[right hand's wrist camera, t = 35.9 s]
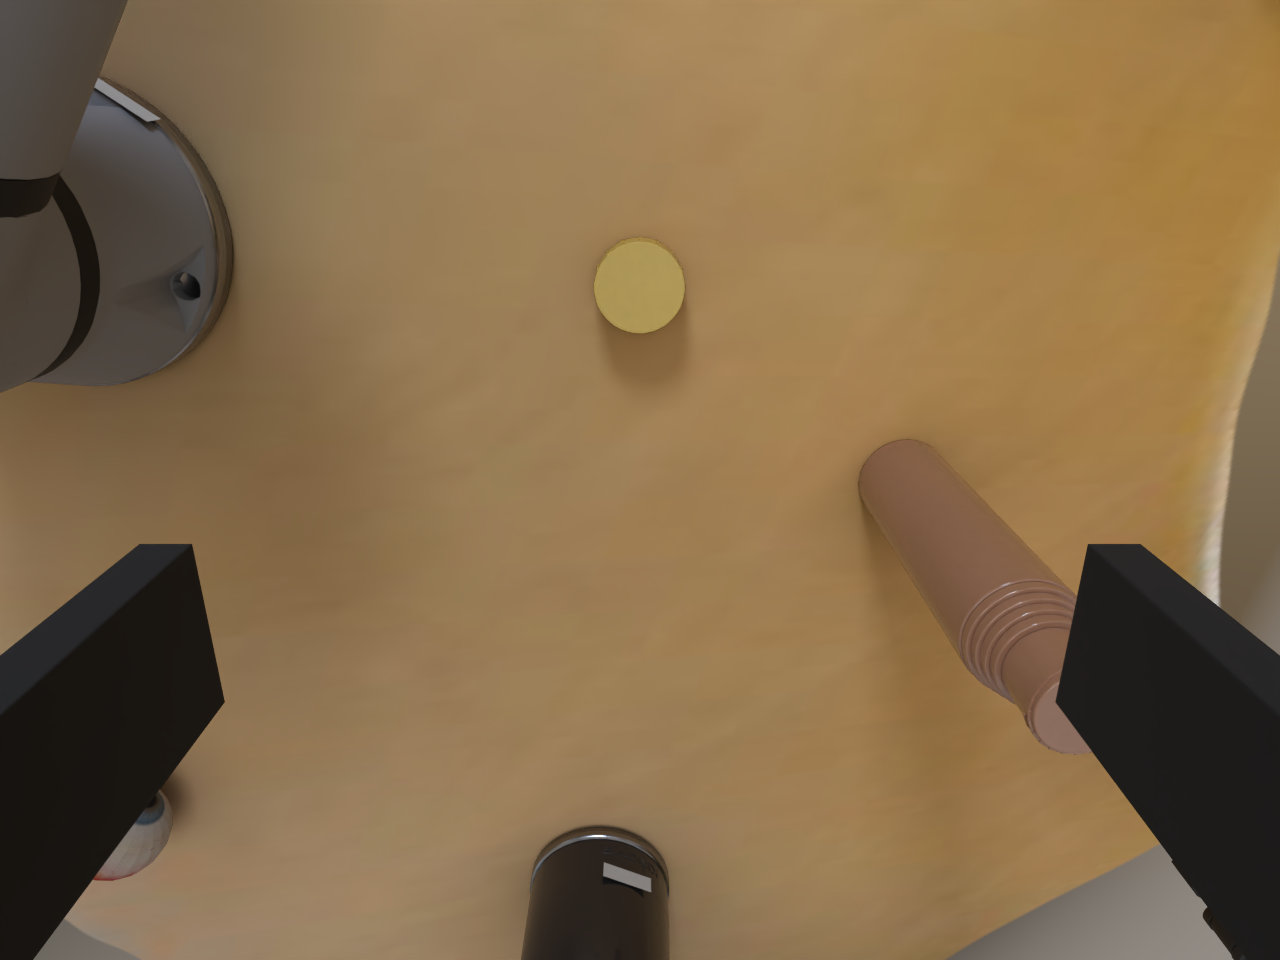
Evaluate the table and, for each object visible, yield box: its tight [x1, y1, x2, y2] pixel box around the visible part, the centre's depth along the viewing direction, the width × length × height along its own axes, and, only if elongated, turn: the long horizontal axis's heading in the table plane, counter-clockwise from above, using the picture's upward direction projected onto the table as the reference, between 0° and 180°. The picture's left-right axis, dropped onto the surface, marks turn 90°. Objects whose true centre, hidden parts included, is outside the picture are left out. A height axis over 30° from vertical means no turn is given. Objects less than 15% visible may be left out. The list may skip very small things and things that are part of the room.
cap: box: [593, 236, 686, 333], centre depth 44 cm, size 5×5×2 cm
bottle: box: [859, 440, 1092, 755], centre depth 39 cm, size 5×5×22 cm
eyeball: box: [93, 790, 173, 881], centre depth 54 cm, size 6×6×6 cm
